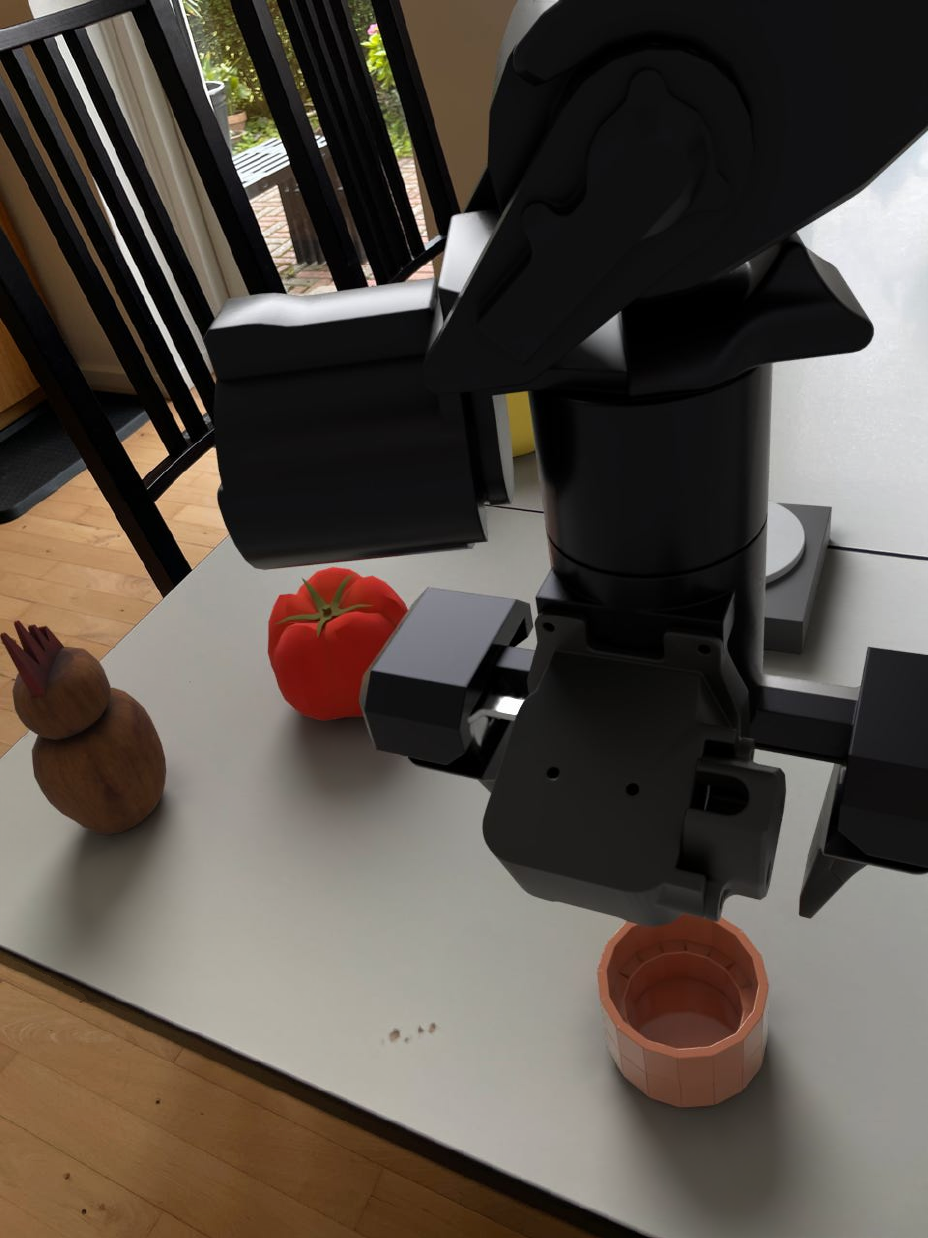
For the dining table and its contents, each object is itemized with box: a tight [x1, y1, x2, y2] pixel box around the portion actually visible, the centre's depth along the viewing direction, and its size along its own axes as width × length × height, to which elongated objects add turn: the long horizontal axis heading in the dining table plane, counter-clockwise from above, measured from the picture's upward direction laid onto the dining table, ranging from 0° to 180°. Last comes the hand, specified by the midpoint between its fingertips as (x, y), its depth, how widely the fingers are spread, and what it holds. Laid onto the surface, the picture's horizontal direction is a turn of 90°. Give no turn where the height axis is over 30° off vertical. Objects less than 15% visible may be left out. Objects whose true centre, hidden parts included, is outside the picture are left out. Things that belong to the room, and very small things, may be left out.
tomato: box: [267, 566, 409, 721], centre depth 61 cm, size 9×9×8 cm
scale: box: [763, 499, 833, 655], centre depth 65 cm, size 12×12×3 cm
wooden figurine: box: [0, 619, 167, 835], centre depth 54 cm, size 7×6×15 cm
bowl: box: [596, 913, 770, 1108], centre depth 41 cm, size 7×7×4 cm
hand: (672, 874), depth 36 cm, fingers open, 9 cm apart
